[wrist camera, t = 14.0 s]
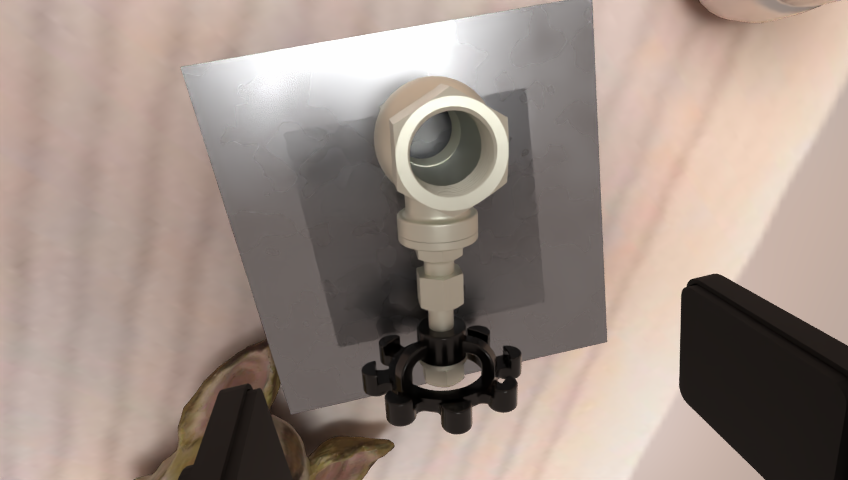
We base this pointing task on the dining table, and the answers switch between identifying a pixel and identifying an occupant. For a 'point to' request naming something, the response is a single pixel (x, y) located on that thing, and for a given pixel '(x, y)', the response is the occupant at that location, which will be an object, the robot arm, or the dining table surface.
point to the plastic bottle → (760, 9)
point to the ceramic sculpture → (314, 476)
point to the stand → (380, 201)
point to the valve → (442, 253)
